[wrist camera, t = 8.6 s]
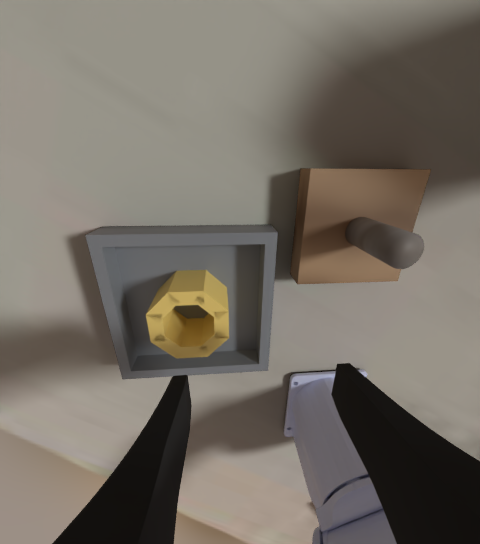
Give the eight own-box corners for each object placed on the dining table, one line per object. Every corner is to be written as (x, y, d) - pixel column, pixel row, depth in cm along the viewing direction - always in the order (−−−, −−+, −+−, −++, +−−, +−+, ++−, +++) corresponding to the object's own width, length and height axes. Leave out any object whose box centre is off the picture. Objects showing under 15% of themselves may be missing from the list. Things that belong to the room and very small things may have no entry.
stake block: (381, 270, 20) (448, 312, 14) (290, 273, 20) (321, 318, 14) (408, 169, 17) (509, 169, 11) (300, 168, 17) (346, 168, 11)
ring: (227, 326, 21) (229, 355, 17) (164, 329, 20) (154, 359, 17) (226, 269, 18) (228, 290, 15) (155, 271, 18) (141, 293, 15)
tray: (263, 351, 23) (267, 370, 21) (132, 358, 22) (122, 379, 20) (270, 224, 18) (277, 232, 16) (102, 226, 17) (85, 234, 15)
